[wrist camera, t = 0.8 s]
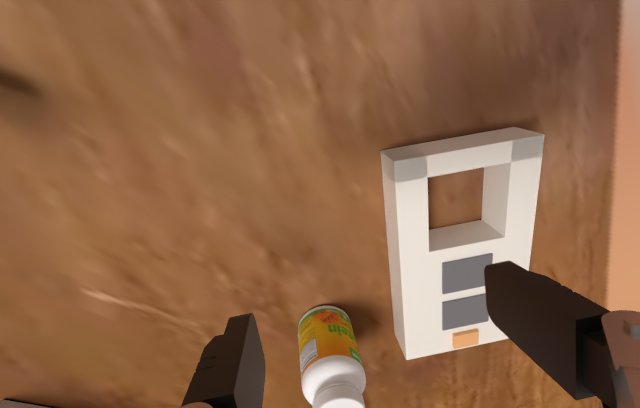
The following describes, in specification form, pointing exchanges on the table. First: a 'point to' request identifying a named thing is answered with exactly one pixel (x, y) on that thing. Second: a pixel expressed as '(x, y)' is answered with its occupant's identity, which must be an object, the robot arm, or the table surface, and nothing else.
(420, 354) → the white bottle holder
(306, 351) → the supplement bottle
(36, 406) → the coffee box
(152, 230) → the table surface
